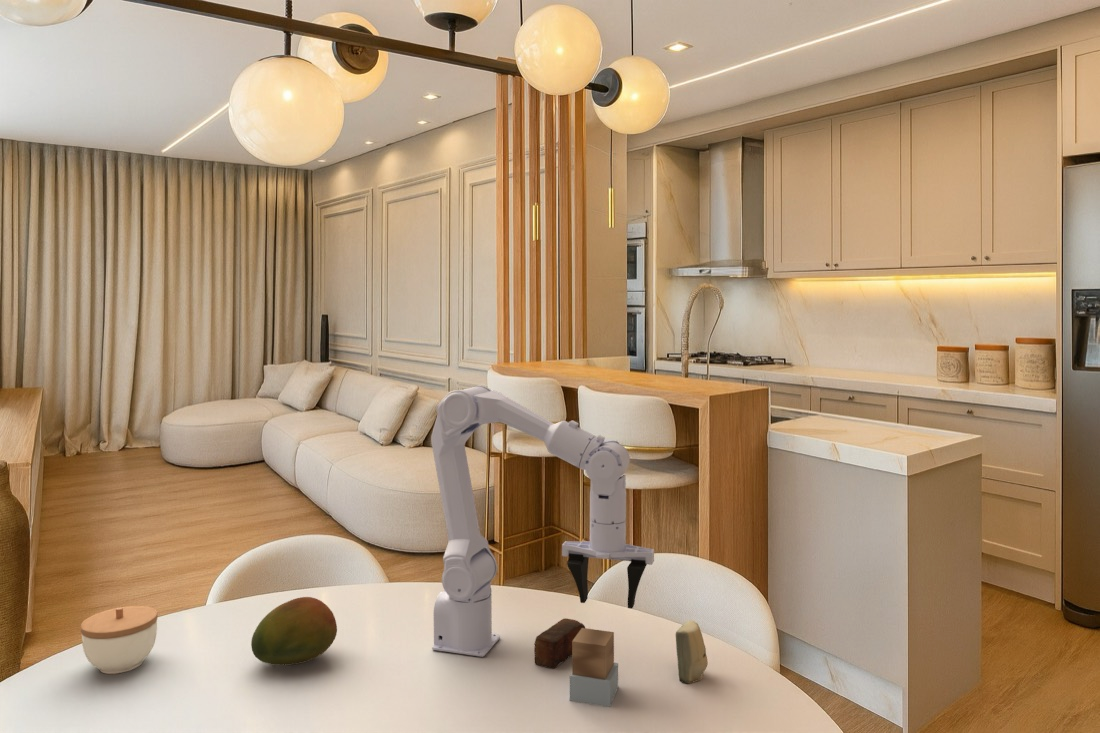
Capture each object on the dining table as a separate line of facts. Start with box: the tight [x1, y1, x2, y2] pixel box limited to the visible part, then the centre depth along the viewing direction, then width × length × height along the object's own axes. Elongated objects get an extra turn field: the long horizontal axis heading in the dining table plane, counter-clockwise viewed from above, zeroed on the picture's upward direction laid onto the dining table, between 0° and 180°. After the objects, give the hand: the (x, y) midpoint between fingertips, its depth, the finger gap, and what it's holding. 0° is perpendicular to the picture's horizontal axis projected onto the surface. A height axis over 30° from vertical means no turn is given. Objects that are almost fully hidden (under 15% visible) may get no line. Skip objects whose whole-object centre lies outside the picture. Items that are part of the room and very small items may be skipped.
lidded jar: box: [79, 605, 159, 675], centre depth 121 cm, size 11×11×9 cm
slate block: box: [569, 661, 619, 708], centre depth 112 cm, size 6×6×4 cm
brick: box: [533, 617, 586, 670], centre depth 125 cm, size 11×4×5 cm, turn 150°
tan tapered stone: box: [675, 619, 708, 684], centre depth 117 cm, size 6×5×8 cm
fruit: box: [250, 596, 338, 666], centre depth 122 cm, size 12×13×10 cm
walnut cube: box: [571, 627, 615, 680], centre depth 111 cm, size 5×5×5 cm
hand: (607, 603), depth 120 cm, fingers open, 7 cm apart
